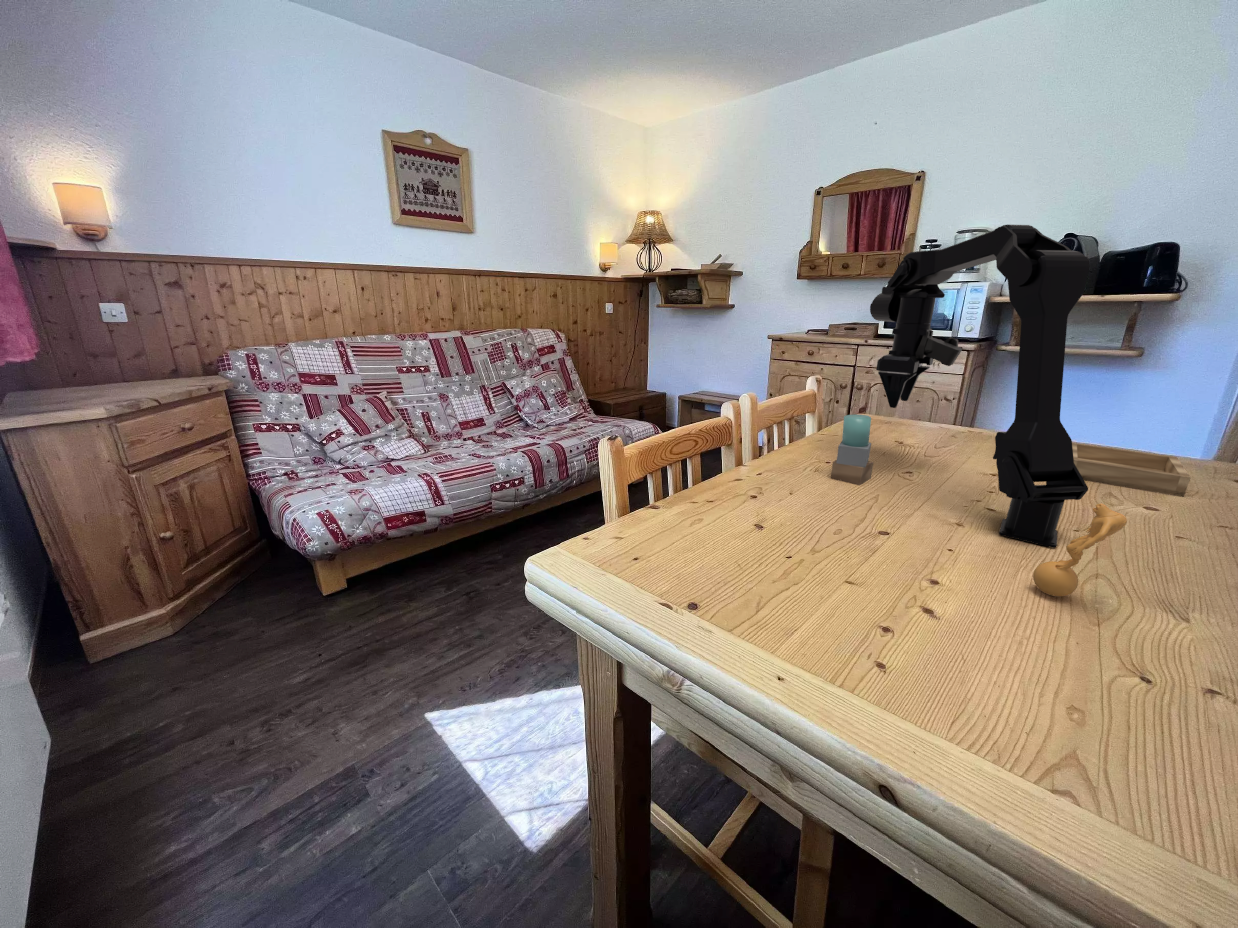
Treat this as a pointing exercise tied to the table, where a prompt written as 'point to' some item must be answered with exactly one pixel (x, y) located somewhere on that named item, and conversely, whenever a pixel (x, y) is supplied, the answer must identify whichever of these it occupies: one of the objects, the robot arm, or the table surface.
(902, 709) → the table surface
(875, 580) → the table surface
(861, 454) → the block upper
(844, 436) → the teal cylinder
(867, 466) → the block lower
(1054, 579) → the figurine
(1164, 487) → the tray
